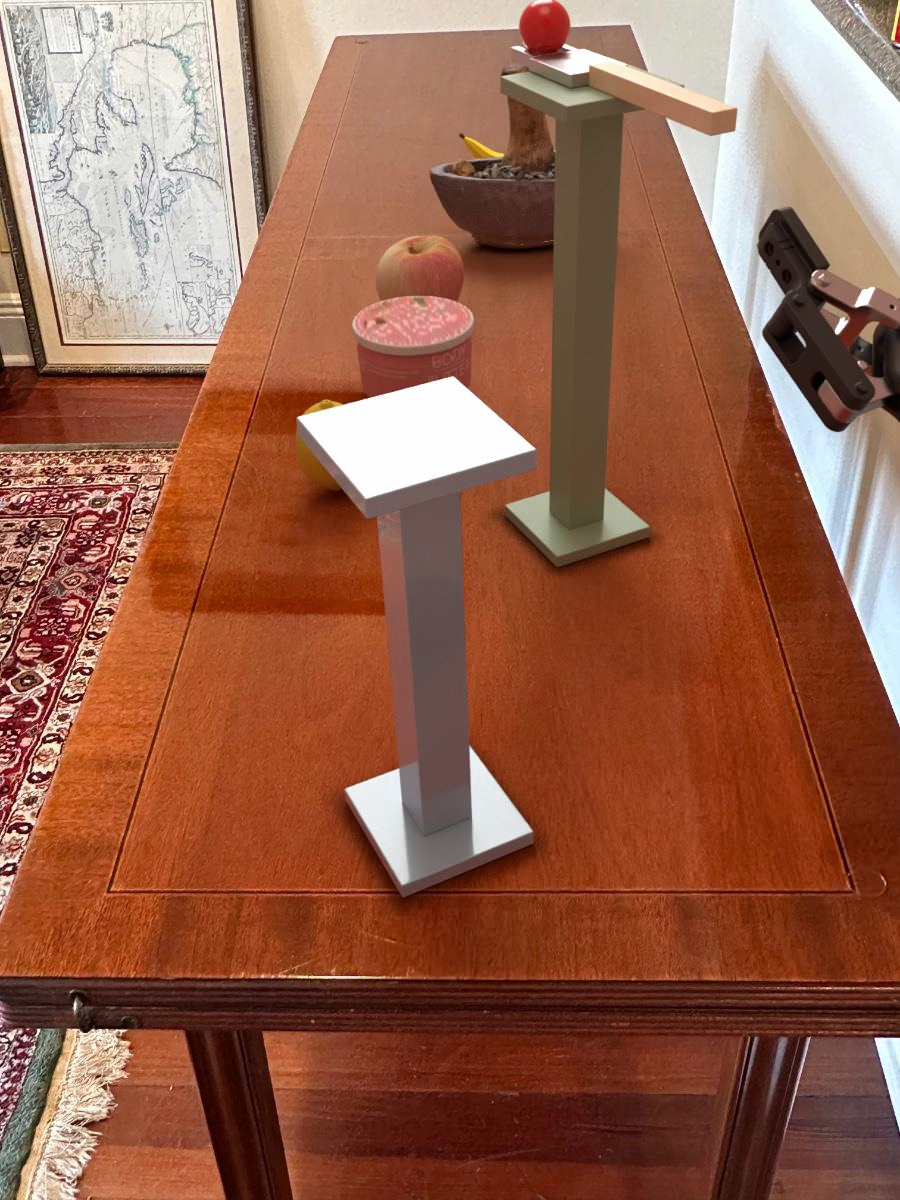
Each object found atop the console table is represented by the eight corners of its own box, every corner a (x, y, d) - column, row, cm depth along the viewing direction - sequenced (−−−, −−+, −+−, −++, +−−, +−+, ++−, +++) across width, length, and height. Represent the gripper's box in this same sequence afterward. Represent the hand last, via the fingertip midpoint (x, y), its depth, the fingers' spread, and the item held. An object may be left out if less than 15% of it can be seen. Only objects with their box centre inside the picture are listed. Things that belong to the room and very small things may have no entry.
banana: (607, 177, 154) (610, 127, 151) (461, 187, 153) (460, 136, 150) (603, 170, 157) (605, 120, 153) (459, 180, 156) (458, 130, 152)
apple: (468, 302, 125) (466, 226, 120) (460, 338, 118) (457, 260, 113) (386, 301, 125) (380, 226, 121) (373, 338, 118) (367, 260, 114)
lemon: (291, 504, 95) (279, 415, 90) (314, 468, 99) (303, 381, 94) (358, 511, 93) (349, 421, 88) (378, 475, 98) (371, 386, 93)
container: (466, 371, 112) (464, 290, 107) (484, 424, 104) (483, 339, 99) (355, 382, 111) (347, 300, 106) (364, 437, 103) (356, 351, 98)
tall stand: (649, 537, 89) (685, 84, 70) (557, 568, 86) (567, 106, 67) (592, 487, 95) (611, 57, 75) (504, 515, 92) (499, 76, 73)
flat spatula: (754, 127, 63) (762, 54, 60) (691, 140, 61) (697, 65, 59) (558, 52, 77) (559, -10, 75) (504, 60, 76) (503, -2, 74)
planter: (425, 247, 137) (416, 61, 125) (528, 209, 146) (528, 32, 134) (516, 281, 128) (515, 85, 116) (620, 239, 137) (629, 52, 125)
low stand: (534, 843, 66) (537, 449, 51) (402, 898, 63) (365, 499, 48) (468, 753, 72) (453, 375, 57) (345, 800, 69) (295, 416, 54)
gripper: (1224, 397, 49) (1006, 113, 55) (964, 491, 45) (754, 171, 50) (1102, 488, 56) (919, 227, 61) (866, 578, 51) (689, 287, 57)
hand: (845, 202), depth 56 cm, fingers open, 8 cm apart
